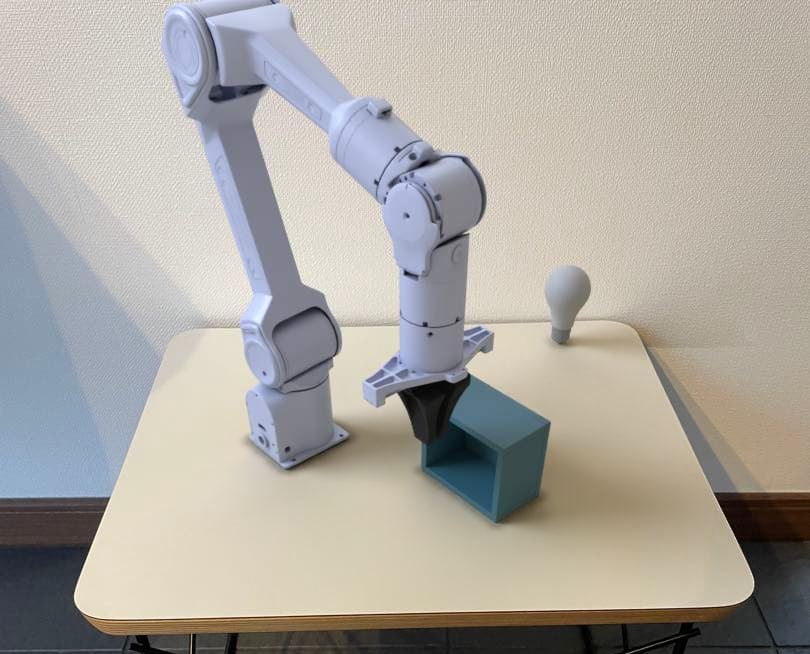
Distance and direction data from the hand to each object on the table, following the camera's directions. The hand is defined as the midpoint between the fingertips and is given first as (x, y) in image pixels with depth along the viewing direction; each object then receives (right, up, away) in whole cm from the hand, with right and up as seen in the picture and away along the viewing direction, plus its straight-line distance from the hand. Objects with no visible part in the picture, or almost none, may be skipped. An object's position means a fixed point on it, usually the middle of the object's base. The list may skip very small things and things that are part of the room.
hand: (429, 436), depth 76 cm
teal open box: (+6, -4, +11) cm, 13 cm away
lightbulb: (+19, +18, +33) cm, 42 cm away
